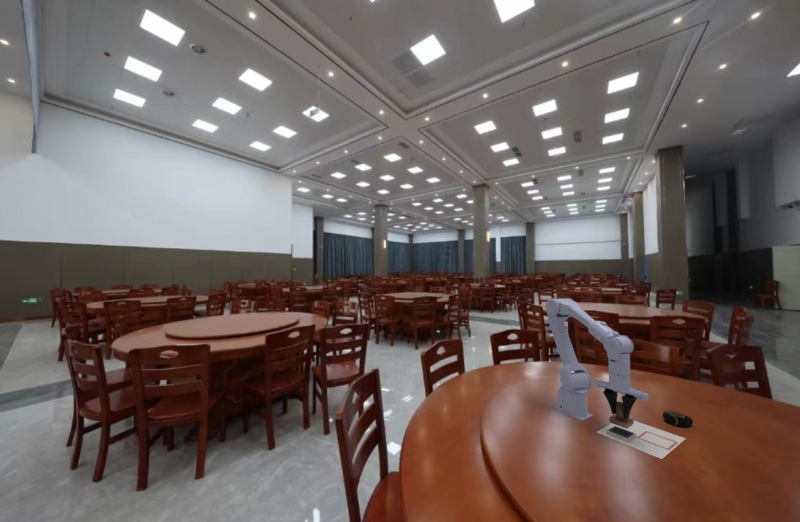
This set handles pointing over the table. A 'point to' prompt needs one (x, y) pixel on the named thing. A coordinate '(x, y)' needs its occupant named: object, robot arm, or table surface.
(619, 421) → the stamp
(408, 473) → the table surface
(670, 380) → the table surface
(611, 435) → the stamping mat
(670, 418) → the tape measure
